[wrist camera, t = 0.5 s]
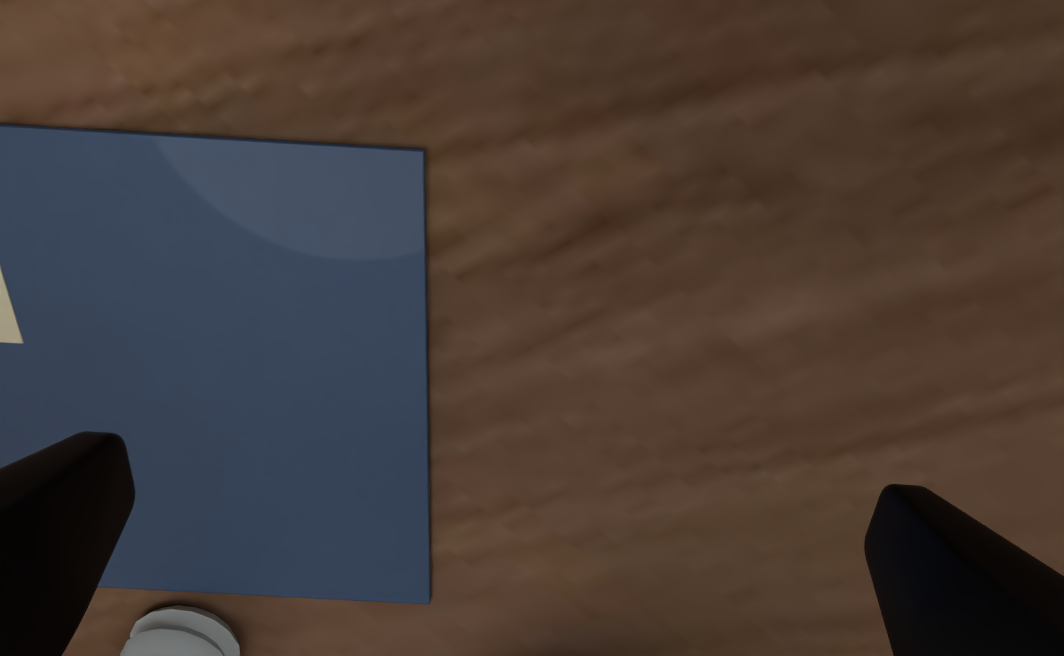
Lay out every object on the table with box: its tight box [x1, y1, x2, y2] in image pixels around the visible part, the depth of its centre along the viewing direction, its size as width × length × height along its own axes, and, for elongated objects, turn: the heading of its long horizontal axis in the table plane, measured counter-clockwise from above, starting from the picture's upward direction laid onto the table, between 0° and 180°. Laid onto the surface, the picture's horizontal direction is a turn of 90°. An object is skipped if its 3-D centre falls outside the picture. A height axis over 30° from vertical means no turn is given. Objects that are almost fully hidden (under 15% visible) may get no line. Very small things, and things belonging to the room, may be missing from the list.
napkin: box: [0, 124, 431, 604], centre depth 25 cm, size 18×20×1 cm
